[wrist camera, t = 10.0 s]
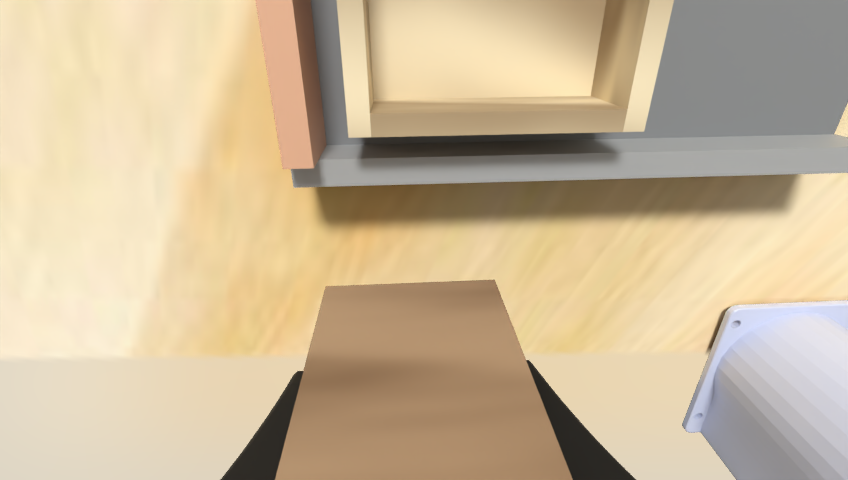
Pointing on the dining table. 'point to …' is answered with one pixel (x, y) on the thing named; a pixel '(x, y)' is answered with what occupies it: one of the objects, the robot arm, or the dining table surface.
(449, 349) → the walnut block
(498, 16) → the crate
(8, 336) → the dining table surface
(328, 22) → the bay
